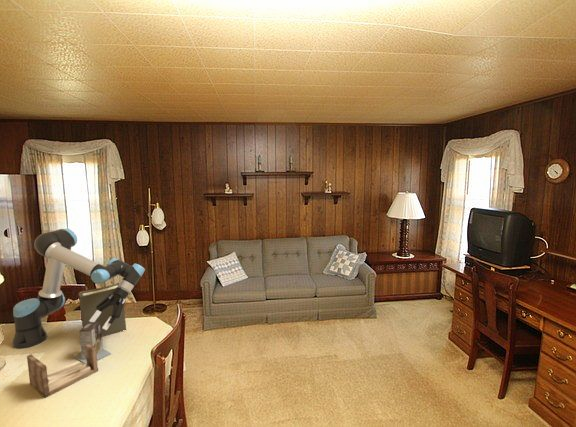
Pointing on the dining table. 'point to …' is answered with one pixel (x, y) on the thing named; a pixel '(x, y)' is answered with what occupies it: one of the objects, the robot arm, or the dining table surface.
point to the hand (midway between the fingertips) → (97, 325)
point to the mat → (99, 356)
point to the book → (88, 309)
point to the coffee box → (91, 337)
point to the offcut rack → (60, 373)
